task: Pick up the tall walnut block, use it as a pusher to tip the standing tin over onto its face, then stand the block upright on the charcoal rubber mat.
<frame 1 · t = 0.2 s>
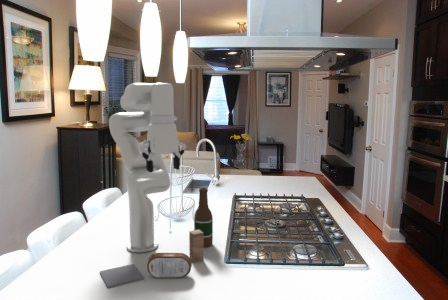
hand: (163, 170, 125), 36 cm above the kitchen island, tool pointing down, fingers open, 9 cm apart
beer bottle: (203, 244, 153), on the kitchen island
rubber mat: (121, 276, 125), on the kitchen island
walnut block: (196, 259, 138), on the kitchen island
tin: (169, 277, 125), on the kitchen island
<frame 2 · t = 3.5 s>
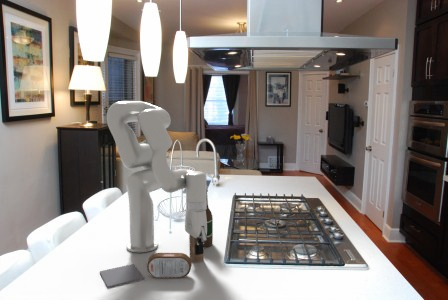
hand: (196, 251, 138), 3 cm above the kitchen island, tool pointing down, fingers closed on walnut block, 4 cm apart
walnut block: (196, 259, 138), on the kitchen island, touching gripper
everything else where it was.
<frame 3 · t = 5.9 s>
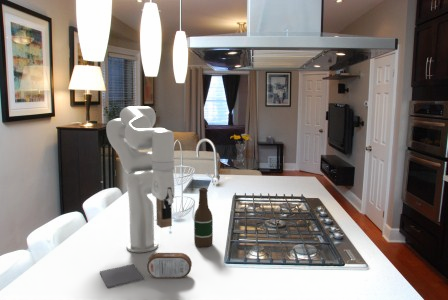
hand: (164, 216, 129), 19 cm above the kitchen island, tool pointing down, fingers closed on walnut block, 4 cm apart
walnut block: (164, 225, 129), point 16 cm above the kitchen island, touching gripper
everything else where it was.
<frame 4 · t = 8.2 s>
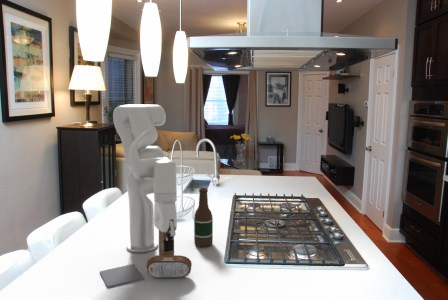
hand: (166, 247, 125), 10 cm above the kitchen island, tool pointing down, fingers closed on walnut block, 4 cm apart
walnut block: (166, 257, 126), point 6 cm above the kitchen island, touching gripper
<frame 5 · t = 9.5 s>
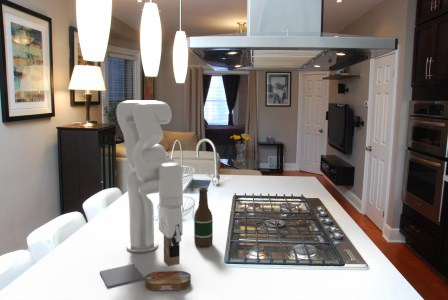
hand: (171, 253, 121), 9 cm above the kitchen island, tool pointing down, fingers closed on walnut block, 4 cm apart
walnut block: (171, 263, 122), point 6 cm above the kitchen island, touching gripper
tin: (169, 275, 123), point 1 cm above the kitchen island
everything else where it was.
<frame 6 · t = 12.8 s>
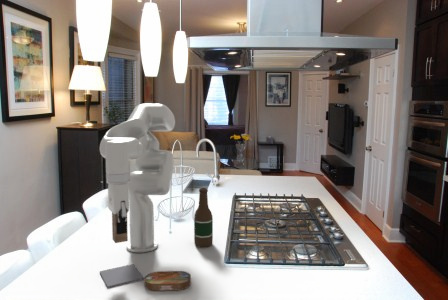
hand: (119, 230, 123), 16 cm above the kitchen island, tool pointing down, fingers closed on walnut block, 4 cm apart
walnut block: (120, 240, 123), point 13 cm above the kitchen island, touching gripper
everything else where it was.
when the fingers open (4 cm above the kitchen island, at t = 15.6 s): walnut block stays where it is, resting on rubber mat.
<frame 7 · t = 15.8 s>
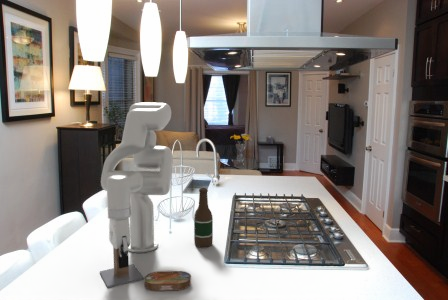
hand: (121, 262, 124), 5 cm above the kitchen island, tool pointing down, fingers open, 5 cm apart
walnut block: (121, 274, 125), point 1 cm above the kitchen island, touching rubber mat
everything else where it was.
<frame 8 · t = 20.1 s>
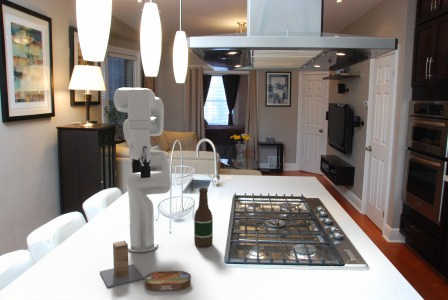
hand: (141, 175, 125), 34 cm above the kitchen island, tool pointing down, fingers open, 9 cm apart
nothing on the kitchen island moved.
at the end: tin tilted 86°; walnut block inside the target area on the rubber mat (0.1 cm from its centre), point 0.6 cm above the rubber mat's base; walnut block tilted 0° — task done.
